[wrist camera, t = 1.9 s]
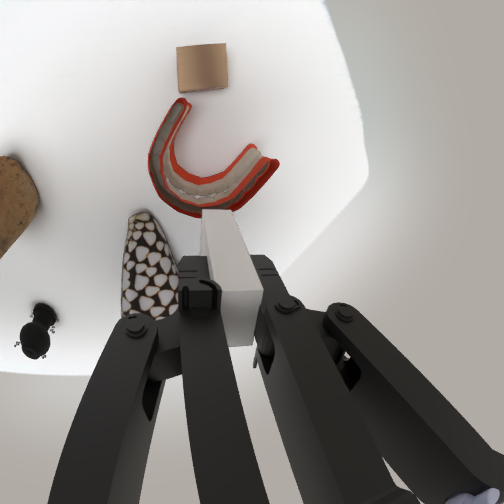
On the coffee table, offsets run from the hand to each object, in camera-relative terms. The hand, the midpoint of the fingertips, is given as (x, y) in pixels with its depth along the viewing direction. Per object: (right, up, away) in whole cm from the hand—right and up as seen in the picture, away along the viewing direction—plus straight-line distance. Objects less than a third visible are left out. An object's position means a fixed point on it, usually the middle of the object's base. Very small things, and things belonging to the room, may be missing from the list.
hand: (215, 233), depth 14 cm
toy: (-5, +11, +18) cm, 21 cm away
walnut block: (-4, +20, +12) cm, 24 cm away
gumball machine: (-35, -12, +23) cm, 44 cm away
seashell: (-14, -3, +24) cm, 28 cm away
